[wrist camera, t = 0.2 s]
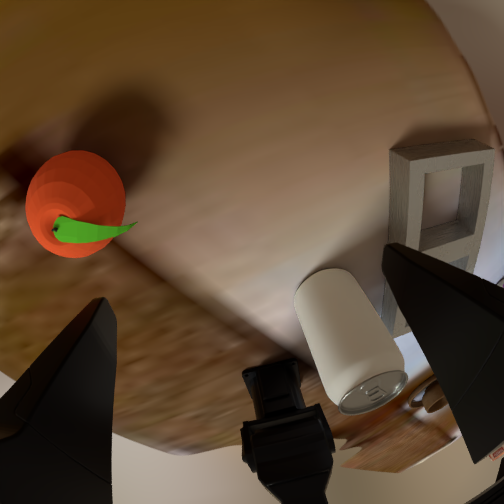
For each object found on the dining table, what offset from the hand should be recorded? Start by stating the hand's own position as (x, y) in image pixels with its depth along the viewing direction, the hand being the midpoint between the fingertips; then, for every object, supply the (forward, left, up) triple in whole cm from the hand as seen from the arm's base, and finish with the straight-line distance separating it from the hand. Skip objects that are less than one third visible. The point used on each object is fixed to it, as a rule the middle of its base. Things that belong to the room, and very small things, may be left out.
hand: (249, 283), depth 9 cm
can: (-15, -7, -14) cm, 22 cm away
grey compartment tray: (-12, -19, -14) cm, 26 cm away
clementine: (+1, +9, -15) cm, 17 cm away
